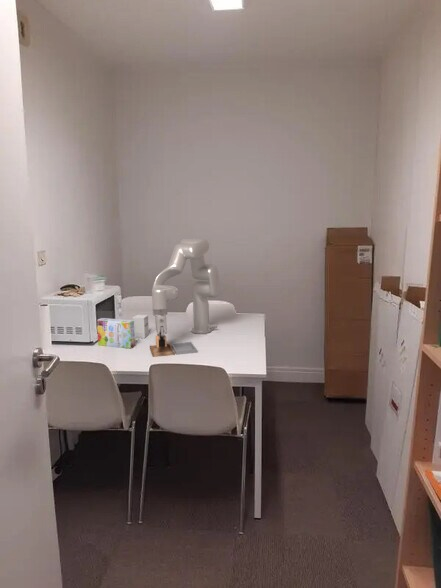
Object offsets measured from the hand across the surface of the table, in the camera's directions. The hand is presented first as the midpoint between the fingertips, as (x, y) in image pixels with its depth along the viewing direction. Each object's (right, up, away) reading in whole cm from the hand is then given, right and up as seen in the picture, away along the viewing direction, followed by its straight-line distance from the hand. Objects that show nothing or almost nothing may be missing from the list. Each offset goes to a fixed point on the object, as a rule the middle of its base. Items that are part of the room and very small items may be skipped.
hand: (161, 344), depth 236 cm
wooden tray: (0, -5, +1) cm, 5 cm away
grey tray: (+12, -4, +4) cm, 13 cm away
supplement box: (-16, +1, +32) cm, 36 cm away
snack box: (-27, -2, +15) cm, 31 cm away
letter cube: (0, 0, 0) cm, 1 cm away
